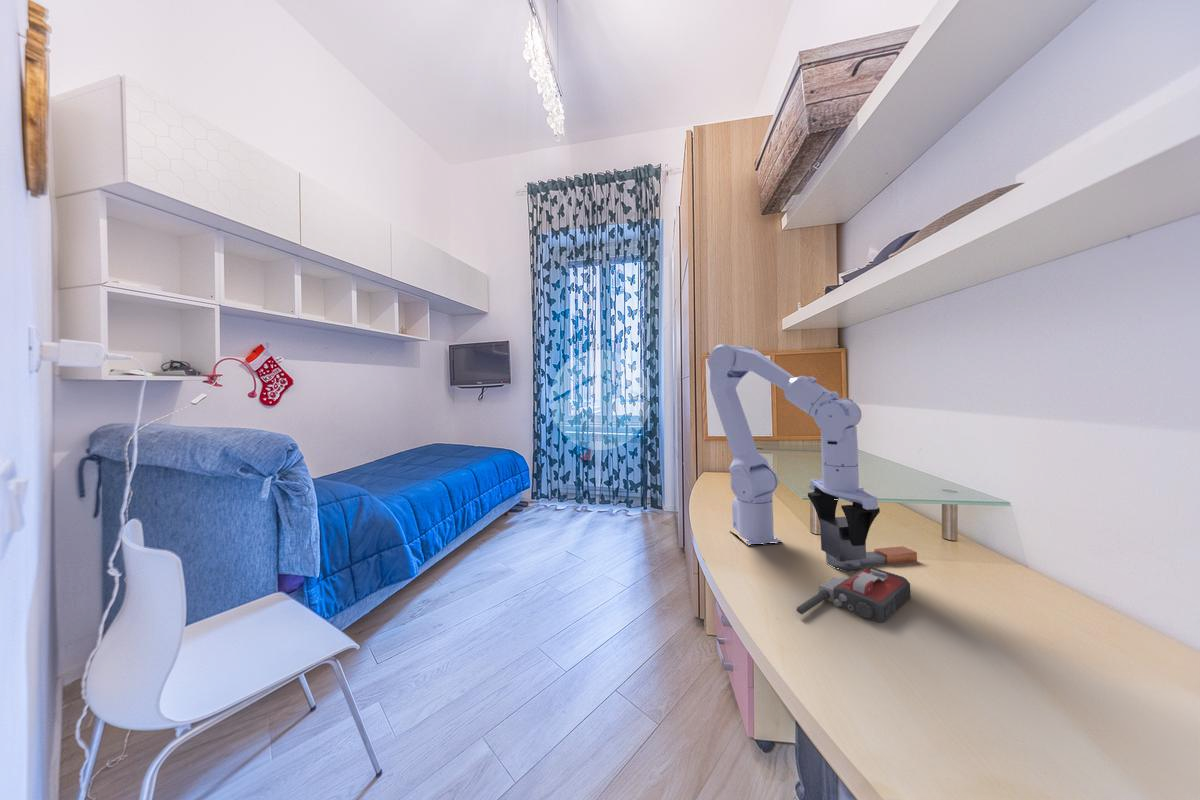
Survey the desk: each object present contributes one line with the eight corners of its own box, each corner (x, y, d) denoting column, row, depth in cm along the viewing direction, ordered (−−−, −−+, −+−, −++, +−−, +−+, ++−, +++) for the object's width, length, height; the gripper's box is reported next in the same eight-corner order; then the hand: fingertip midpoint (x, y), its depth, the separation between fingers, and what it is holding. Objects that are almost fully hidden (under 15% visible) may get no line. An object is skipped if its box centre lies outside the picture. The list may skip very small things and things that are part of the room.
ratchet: (840, 572, 67) (839, 544, 67) (819, 559, 72) (818, 533, 72) (924, 565, 68) (923, 537, 68) (897, 552, 74) (896, 527, 74)
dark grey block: (821, 549, 72) (820, 518, 72) (845, 547, 72) (844, 516, 72) (840, 560, 67) (838, 527, 67) (866, 558, 67) (864, 525, 67)
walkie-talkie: (853, 576, 66) (791, 617, 55) (852, 551, 66) (790, 587, 55) (916, 597, 59) (859, 649, 48) (915, 569, 59) (858, 614, 48)
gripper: (893, 470, 63) (896, 550, 63) (832, 456, 77) (834, 522, 77) (854, 472, 62) (857, 554, 62) (799, 458, 77) (802, 524, 77)
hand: (842, 536), depth 70 cm, fingers open, 7 cm apart
